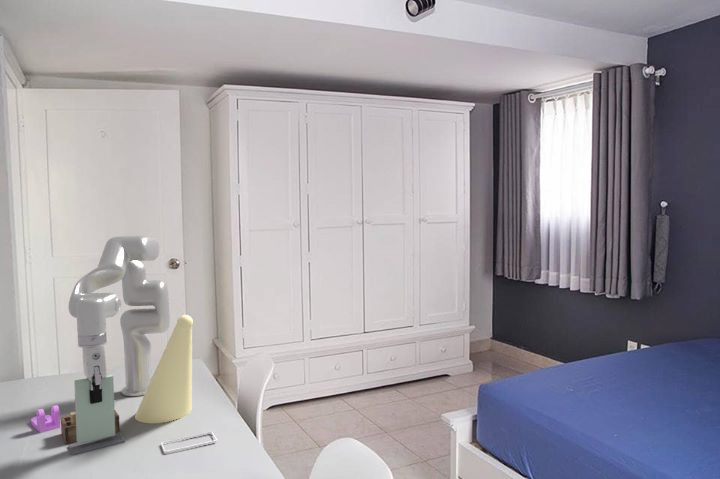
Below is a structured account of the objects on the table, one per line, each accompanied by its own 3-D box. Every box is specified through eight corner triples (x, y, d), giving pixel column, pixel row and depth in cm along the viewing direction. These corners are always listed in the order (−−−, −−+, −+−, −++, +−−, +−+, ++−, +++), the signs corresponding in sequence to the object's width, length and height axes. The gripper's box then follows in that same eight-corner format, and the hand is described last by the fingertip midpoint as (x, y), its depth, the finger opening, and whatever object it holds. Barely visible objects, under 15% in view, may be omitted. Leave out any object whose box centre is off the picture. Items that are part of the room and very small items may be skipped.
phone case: (164, 456, 153) (217, 444, 160) (164, 451, 153) (217, 440, 160) (160, 446, 159) (212, 435, 166) (160, 441, 159) (212, 431, 166)
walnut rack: (113, 421, 177) (112, 407, 176) (119, 431, 169) (119, 415, 169) (61, 433, 168) (60, 418, 168) (65, 444, 160) (64, 427, 160)
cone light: (123, 415, 182) (119, 313, 180) (170, 399, 197) (166, 304, 195) (168, 432, 168) (164, 321, 166) (215, 413, 183) (211, 311, 181)
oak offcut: (89, 434, 168) (88, 408, 167) (90, 436, 165) (89, 411, 165) (71, 438, 165) (70, 412, 164) (72, 441, 163) (71, 415, 162)
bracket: (60, 428, 173) (59, 406, 172) (40, 433, 169) (39, 411, 168) (47, 417, 182) (46, 397, 182) (29, 422, 178) (27, 401, 178)
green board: (113, 432, 164) (111, 374, 163) (115, 435, 162) (113, 376, 161) (76, 441, 158) (74, 380, 157) (78, 443, 156) (75, 382, 155)
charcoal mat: (119, 434, 167) (119, 432, 167) (124, 442, 161) (124, 440, 161) (68, 446, 159) (68, 444, 159) (72, 455, 153) (72, 453, 153)
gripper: (111, 342, 154) (114, 406, 155) (100, 332, 167) (103, 391, 168) (82, 347, 149) (85, 412, 151) (73, 336, 162) (76, 396, 164)
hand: (95, 400), depth 159 cm, fingers closed on green board, 2 cm apart
